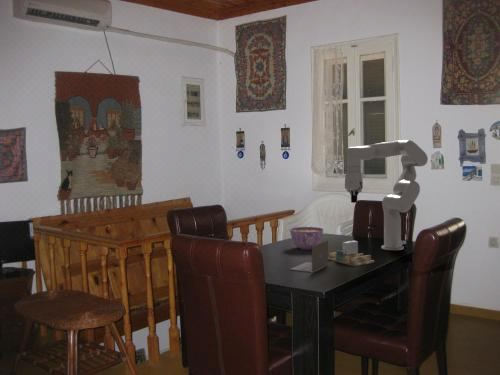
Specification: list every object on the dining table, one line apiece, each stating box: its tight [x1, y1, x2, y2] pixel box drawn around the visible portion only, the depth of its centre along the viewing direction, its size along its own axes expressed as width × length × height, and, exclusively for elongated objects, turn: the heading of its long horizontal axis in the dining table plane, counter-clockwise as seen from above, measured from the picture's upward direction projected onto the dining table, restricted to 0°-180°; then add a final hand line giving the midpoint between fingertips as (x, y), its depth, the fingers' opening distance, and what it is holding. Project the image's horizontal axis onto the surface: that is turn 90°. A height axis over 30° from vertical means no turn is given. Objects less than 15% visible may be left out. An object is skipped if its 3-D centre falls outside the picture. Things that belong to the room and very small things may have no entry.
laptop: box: [289, 240, 329, 274], centre depth 254 cm, size 18×12×13 cm
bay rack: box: [328, 250, 375, 267], centre depth 268 cm, size 14×22×6 cm, turn 32°
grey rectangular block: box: [341, 240, 359, 256], centre depth 268 cm, size 3×8×9 cm, turn 122°
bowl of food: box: [289, 226, 324, 251], centre depth 303 cm, size 20×20×12 cm
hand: (354, 202), depth 282 cm, fingers closed
